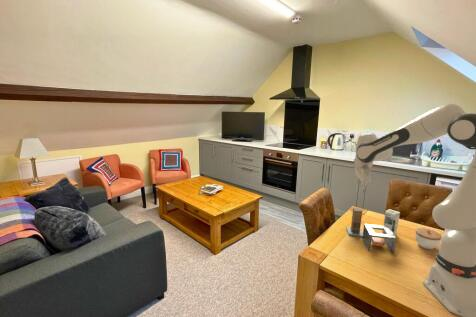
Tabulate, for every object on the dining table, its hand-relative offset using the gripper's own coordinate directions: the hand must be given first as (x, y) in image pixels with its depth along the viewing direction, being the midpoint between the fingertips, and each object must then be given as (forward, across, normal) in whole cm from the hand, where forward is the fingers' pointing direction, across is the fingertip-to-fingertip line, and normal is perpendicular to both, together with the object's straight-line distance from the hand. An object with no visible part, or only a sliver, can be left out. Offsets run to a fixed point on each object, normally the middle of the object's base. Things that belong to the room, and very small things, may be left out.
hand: (360, 186), depth 134 cm
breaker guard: (+29, -11, -9) cm, 32 cm away
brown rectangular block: (+28, 0, 0) cm, 28 cm away
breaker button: (+28, -11, -9) cm, 31 cm away
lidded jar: (+29, -5, -34) cm, 45 cm away
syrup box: (+29, +3, -19) cm, 35 cm away
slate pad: (+29, 0, 0) cm, 29 cm away
